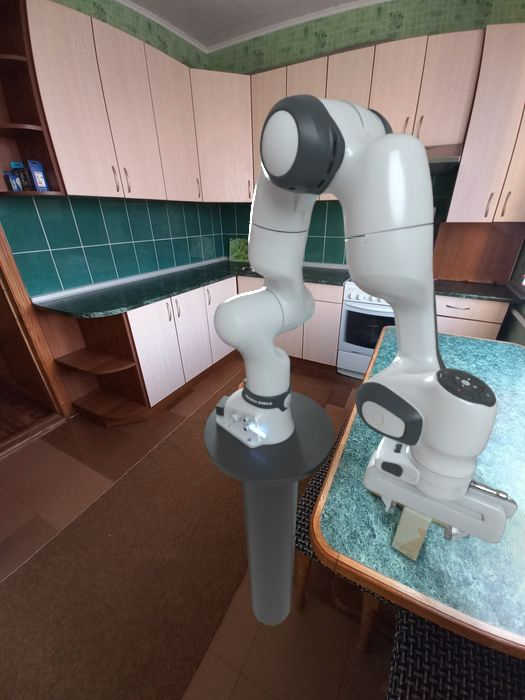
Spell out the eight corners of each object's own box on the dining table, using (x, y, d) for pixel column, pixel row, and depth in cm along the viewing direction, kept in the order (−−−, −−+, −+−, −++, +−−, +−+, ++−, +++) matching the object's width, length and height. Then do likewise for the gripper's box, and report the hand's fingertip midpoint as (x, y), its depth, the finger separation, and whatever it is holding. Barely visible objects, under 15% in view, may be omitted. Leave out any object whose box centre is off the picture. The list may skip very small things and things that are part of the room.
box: (415, 562, 52) (430, 524, 47) (390, 545, 54) (402, 508, 49) (423, 538, 55) (438, 501, 50) (400, 524, 58) (412, 487, 53)
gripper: (519, 482, 42) (489, 539, 48) (374, 432, 52) (365, 484, 59) (525, 518, 38) (490, 575, 44) (365, 455, 48) (355, 509, 54)
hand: (417, 523), depth 51 cm, fingers open, 8 cm apart
